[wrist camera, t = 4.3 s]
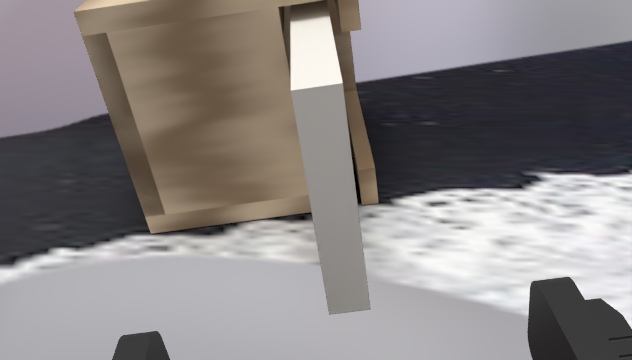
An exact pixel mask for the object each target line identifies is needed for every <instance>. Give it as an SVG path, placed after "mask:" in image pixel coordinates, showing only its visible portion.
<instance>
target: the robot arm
mask: <svg viewBox="0 0 632 360" xmlns="http://www.w3.org/2000/svg"><path fill="white" fill-rule="evenodd" d="M528 342H529V347H530V352H531V356H532V359H533V360H632V329H631V327H630V326H629V324H628V323H627V321H626V320H625V318H624V317H623V315H622V314H620V313H619V312H618V311H617V310H615V309H614V308H613V307H611V306H610V305H609V304H607V303H606V302H605V301H603V300H602V299H601V298H599V299H591V300H585V299H584V298H583V296H582V294H581V293H580V291H579V290H578V288H577V286H576V285H575V283H574V281H573V280H572V279H571V278H570V277H563V278H555V279H547V280H539V281H533V282H532V283H531V286H530V301H529V318H528ZM112 360H170V358H169V356H168V353H167V350H166V348H165V345H164V343H163V340H162V337H161V335H160V334H159V332H157V331H154V332H146V333H138V334H130V335H123V336H122V337H121V338H120V339H119V341H118V344H117V347H116V350H115V353H114V356H113V359H112Z"/></svg>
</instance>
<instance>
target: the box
mask: <svg viewBox="0 0 632 360" xmlns="http://www.w3.org/2000/svg"><path fill="white" fill-rule="evenodd" d="M315 1H322V0H86V1H85V2H84V3H82V4H81V5H80V6H79V7H78V8H77V9H76V10H75V11H74V15H75V17H76V20H77V23H78V26H79V29H80V32H81V34H82V37H83V40H84V43H85V46H86V49H87V52H88V55H89V58H90V60H91V63H92V66H93V69H94V72H95V75H96V77H97V80H98V83H99V86H100V89H101V92H102V95H103V98H104V101H105V103H106V106H107V109H108V112H109V115H110V118H111V121H112V123H113V126H114V129H115V132H116V135H117V138H118V141H119V143H120V146H121V149H122V152H123V155H124V158H125V161H126V164H127V166H128V169H129V172H130V175H131V178H132V181H133V184H134V186H135V189H136V192H137V195H138V198H139V201H140V204H141V206H142V209H143V212H144V215H145V218H146V221H147V224H148V227H149V229H150V232H151V234H154V233H161V232H168V231H176V230H183V229H191V228H198V227H205V226H213V225H220V224H228V223H235V222H242V221H250V220H257V219H265V218H272V217H279V216H287V215H294V214H302V213H309V212H312V211H311V206H310V200H309V194H308V188H307V182H306V177H305V171H304V165H303V159H302V153H301V148H300V142H299V136H298V130H297V124H296V119H295V113H294V107H293V101H292V95H291V37H290V5H295V4H302V3H308V2H315ZM327 5H328V10H329V16H330V21H331V26H332V31H333V36H334V41H335V46H336V51H337V56H338V62H339V67H340V72H341V77H342V82H343V90H344V98H345V106H346V114H347V122H348V130H349V137H350V142H351V148H352V153H353V159H354V164H355V170H356V175H357V180H358V186H359V191H360V197H361V202H362V205H368V204H376V203H379V202H378V192H377V182H376V173H375V166H374V161H373V157H372V153H371V149H370V145H369V141H368V136H367V132H366V128H365V124H364V120H363V115H362V111H361V107H360V103H359V99H358V95H357V90H356V82H355V73H354V64H353V55H352V47H351V37H350V31H355V30H361V23H360V13H359V4H358V0H327Z"/></svg>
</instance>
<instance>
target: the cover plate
mask: <svg viewBox="0 0 632 360" xmlns="http://www.w3.org/2000/svg"><path fill="white" fill-rule="evenodd" d="M290 37H291V95H292V101H293V107H294V113H295V119H296V124H297V130H298V136H299V142H300V148H301V153H302V159H303V165H304V171H305V177H306V182H307V188H308V194H309V200H310V206H311V211H312V217H313V223H314V229H315V235H316V240H317V246H318V252H319V258H320V264H321V269H322V275H323V281H324V287H325V292H326V298H327V304H328V310H329V315H332V314H340V313H348V312H356V311H363V310H370V301H369V293H368V285H367V277H366V268H365V260H364V252H363V244H362V236H361V228H360V220H359V212H358V203H357V195H356V187H355V179H354V171H353V163H352V155H351V147H350V138H349V130H348V122H347V114H346V106H345V98H344V90H343V82H342V77H341V72H340V67H339V62H338V56H337V51H336V46H335V41H334V36H333V31H332V26H331V21H330V16H329V10H328V5H327V0H322V1H315V2H308V3H302V4H295V5H290Z"/></svg>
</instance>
